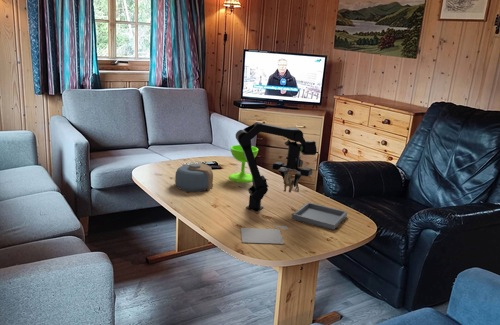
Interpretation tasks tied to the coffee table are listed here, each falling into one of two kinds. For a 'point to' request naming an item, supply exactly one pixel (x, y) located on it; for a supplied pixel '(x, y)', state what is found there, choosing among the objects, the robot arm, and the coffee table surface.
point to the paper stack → (262, 235)
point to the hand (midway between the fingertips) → (290, 185)
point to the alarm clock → (194, 177)
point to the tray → (319, 215)
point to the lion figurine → (289, 183)
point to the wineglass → (240, 156)
